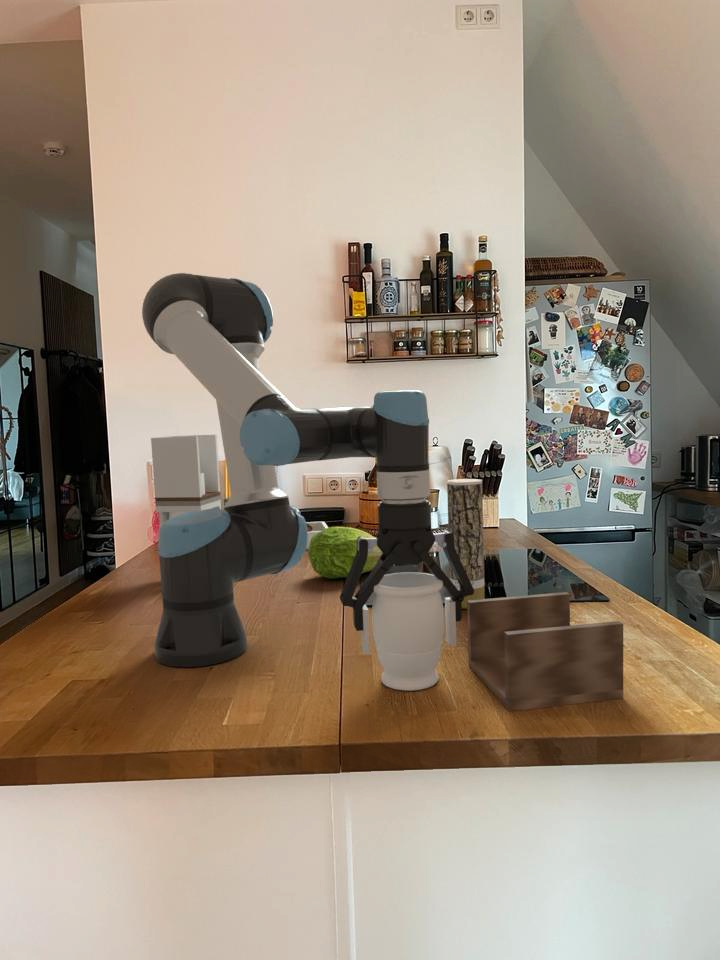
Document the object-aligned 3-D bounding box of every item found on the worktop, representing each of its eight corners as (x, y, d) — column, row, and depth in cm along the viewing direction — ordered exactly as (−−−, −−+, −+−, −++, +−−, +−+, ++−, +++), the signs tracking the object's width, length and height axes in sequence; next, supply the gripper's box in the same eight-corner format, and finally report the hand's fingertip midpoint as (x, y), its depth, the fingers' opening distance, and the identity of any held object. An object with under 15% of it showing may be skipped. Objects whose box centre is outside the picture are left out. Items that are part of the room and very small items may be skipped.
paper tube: (484, 610, 133) (481, 482, 130) (449, 609, 134) (445, 482, 132) (485, 600, 139) (482, 478, 137) (451, 600, 141) (448, 479, 138)
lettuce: (411, 549, 165) (383, 514, 174) (336, 552, 152) (310, 514, 161) (390, 589, 171) (365, 552, 180) (316, 595, 158) (292, 556, 167)
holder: (509, 711, 89) (507, 634, 88) (468, 665, 105) (467, 600, 104) (623, 698, 91) (623, 623, 90) (566, 655, 107) (566, 592, 106)
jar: (402, 662, 108) (399, 568, 106) (459, 676, 101) (457, 576, 99) (359, 684, 99) (355, 583, 98) (418, 701, 93) (415, 593, 91)
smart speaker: (399, 593, 148) (398, 575, 147) (374, 586, 155) (373, 568, 155) (430, 586, 153) (429, 568, 153) (404, 579, 160) (404, 562, 160)
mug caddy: (276, 551, 197) (275, 534, 196) (273, 540, 215) (272, 524, 214) (331, 547, 199) (330, 530, 199) (324, 536, 217) (323, 521, 217)
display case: (161, 586, 161) (150, 438, 158) (183, 575, 172) (173, 435, 168) (205, 587, 159) (196, 436, 155) (225, 576, 169) (216, 434, 165)
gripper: (322, 508, 92) (329, 664, 94) (494, 497, 96) (497, 647, 98) (316, 501, 99) (323, 646, 101) (476, 492, 103) (480, 631, 105)
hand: (409, 647), depth 100 cm, fingers open, 12 cm apart
